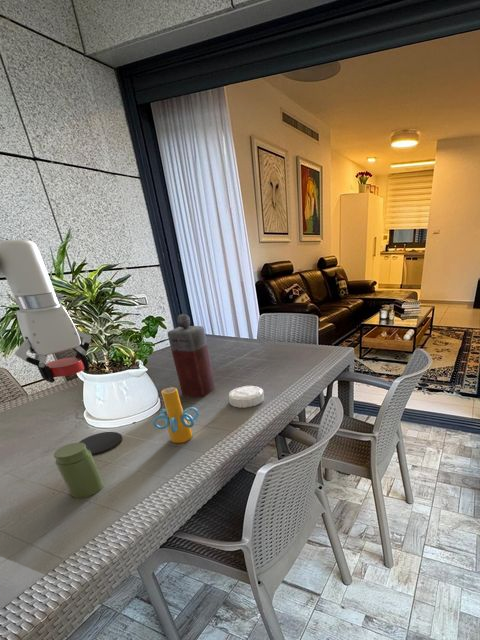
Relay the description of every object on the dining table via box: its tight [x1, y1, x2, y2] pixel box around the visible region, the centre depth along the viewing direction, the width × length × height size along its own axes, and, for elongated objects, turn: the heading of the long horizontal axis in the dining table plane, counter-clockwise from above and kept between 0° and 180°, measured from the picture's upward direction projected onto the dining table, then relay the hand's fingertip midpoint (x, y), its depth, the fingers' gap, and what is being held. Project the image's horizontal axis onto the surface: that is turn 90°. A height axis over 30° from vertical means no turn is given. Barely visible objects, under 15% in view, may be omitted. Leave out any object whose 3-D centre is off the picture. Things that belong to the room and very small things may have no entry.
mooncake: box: [227, 385, 265, 409], centre depth 122 cm, size 12×12×4 cm
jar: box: [53, 442, 105, 499], centre depth 80 cm, size 7×7×11 cm
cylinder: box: [152, 387, 200, 444], centre depth 98 cm, size 12×10×15 cm
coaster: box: [78, 431, 123, 456], centre depth 100 cm, size 12×12×1 cm
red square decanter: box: [167, 314, 217, 398], centre depth 125 cm, size 9×11×28 cm
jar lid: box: [45, 357, 84, 378], centre depth 87 cm, size 8×8×2 cm
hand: (68, 375), depth 88 cm, fingers closed on jar lid, 7 cm apart
